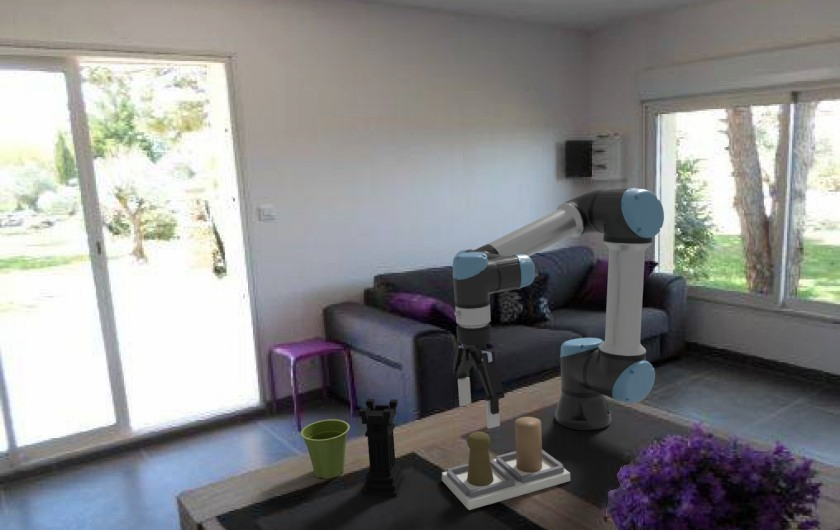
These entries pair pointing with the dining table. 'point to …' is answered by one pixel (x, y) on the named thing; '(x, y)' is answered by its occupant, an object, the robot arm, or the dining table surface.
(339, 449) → the plant pot
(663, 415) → the dining table surface
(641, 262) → the robot arm
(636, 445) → the dining table surface
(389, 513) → the dining table surface
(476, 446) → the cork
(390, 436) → the chess piece
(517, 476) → the pin board
